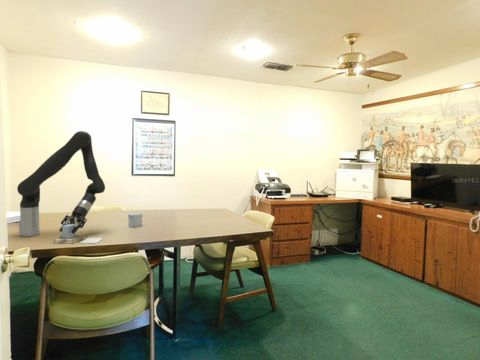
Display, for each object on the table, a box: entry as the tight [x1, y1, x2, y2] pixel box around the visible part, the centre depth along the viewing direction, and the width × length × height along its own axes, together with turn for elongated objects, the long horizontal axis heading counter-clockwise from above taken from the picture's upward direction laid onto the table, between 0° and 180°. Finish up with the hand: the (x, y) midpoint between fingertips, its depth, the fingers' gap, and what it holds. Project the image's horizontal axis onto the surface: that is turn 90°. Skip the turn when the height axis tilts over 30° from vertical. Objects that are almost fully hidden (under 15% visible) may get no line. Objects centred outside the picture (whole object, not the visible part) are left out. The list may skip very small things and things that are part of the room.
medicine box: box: [127, 212, 143, 229], centre depth 210 cm, size 8×4×9 cm, turn 141°
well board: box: [52, 233, 84, 245], centre depth 173 cm, size 11×11×2 cm
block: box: [61, 223, 76, 239], centre depth 173 cm, size 4×4×9 cm
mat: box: [79, 237, 104, 245], centre depth 174 cm, size 9×10×1 cm
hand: (66, 232), depth 171 cm, fingers open, 8 cm apart
